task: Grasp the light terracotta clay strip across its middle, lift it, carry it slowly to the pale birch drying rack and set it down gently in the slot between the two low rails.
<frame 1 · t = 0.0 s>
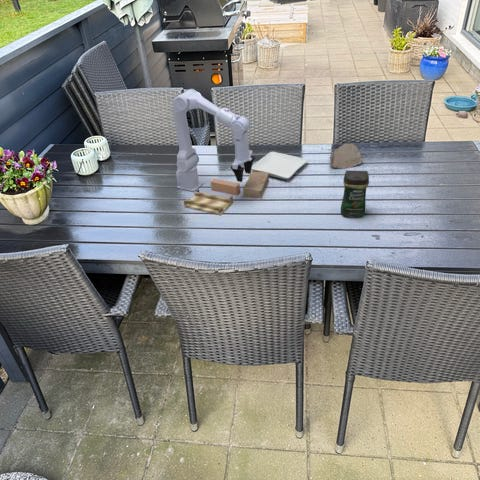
hand: (243, 177, 190), 10 cm above the table, fingers open, 7 cm apart
pumice stone: (345, 165, 214), on the table
rack: (208, 204, 193), on the table
coffee jar: (352, 213, 180), on the table
salad plate: (279, 170, 216), on the table
brick: (256, 189, 202), on the table
clay strip: (225, 191, 202), on the table
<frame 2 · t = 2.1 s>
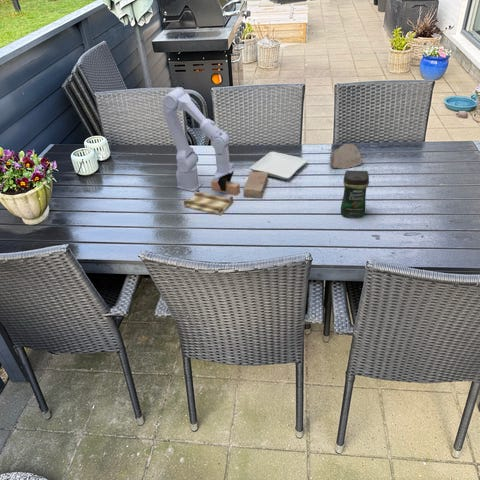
hand: (225, 188, 201), 1 cm above the table, fingers closed on clay strip, 3 cm apart
clay strip: (225, 191, 202), on the table, touching gripper
everything else where it was.
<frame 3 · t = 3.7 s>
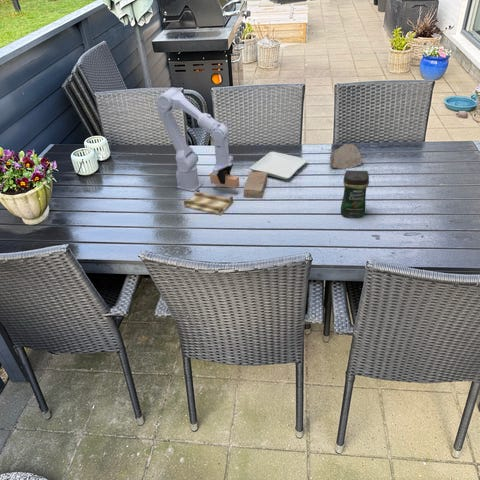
hand: (224, 181, 199), 5 cm above the table, fingers closed on clay strip, 3 cm apart
clay strip: (224, 184, 199), point 3 cm above the table, touching gripper
everything else where it was.
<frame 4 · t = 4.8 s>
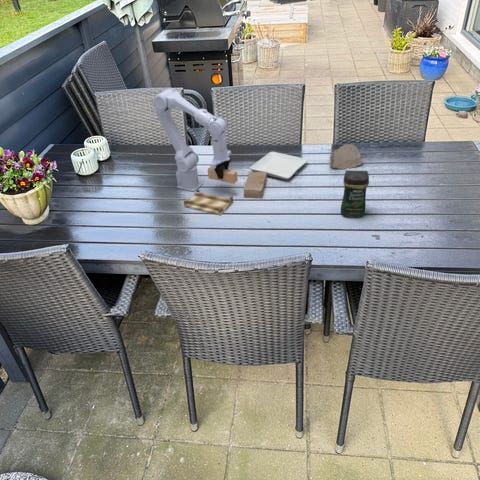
hand: (222, 176, 196), 8 cm above the table, fingers closed on clay strip, 3 cm apart
clay strip: (223, 179, 197), point 6 cm above the table, touching gripper
everything else where it was.
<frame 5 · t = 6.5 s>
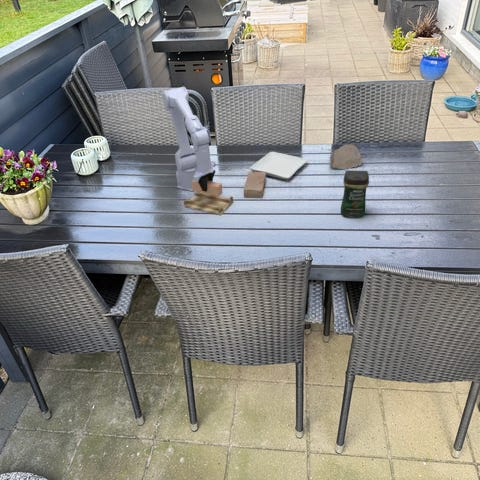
hand: (206, 188, 188), 8 cm above the table, fingers closed on clay strip, 3 cm apart
clay strip: (207, 191, 189), point 6 cm above the table, touching gripper
everything else where it was.
when the fingers open (4 cm above the table, at t = 7.8 s): clay strip drops 1 cm, resting on rack.
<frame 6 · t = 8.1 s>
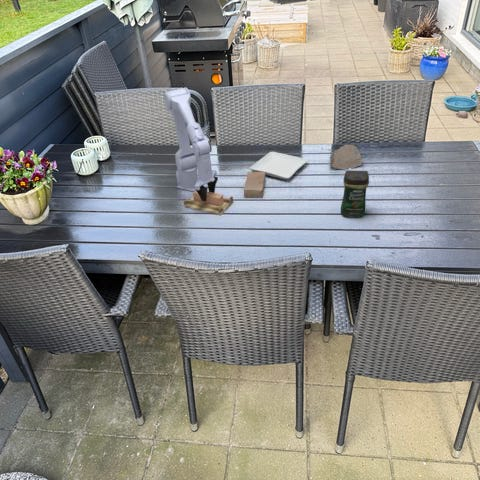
hand: (207, 196, 190), 4 cm above the table, fingers open, 6 cm apart
clay strip: (208, 202, 192), point 1 cm above the table, touching rack
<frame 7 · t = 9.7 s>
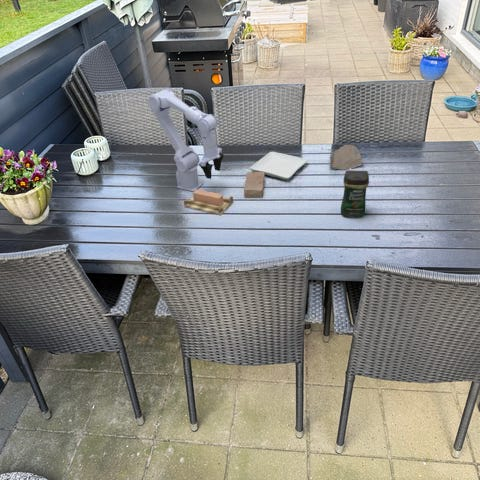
hand: (213, 174, 194), 10 cm above the table, fingers open, 7 cm apart
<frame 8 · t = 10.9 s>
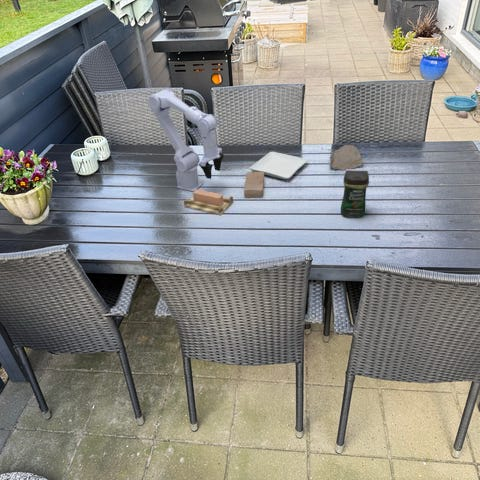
hand: (213, 174, 194), 10 cm above the table, fingers open, 7 cm apart
at the end: clay strip inside the target area on the rack (0.1 cm from its centre), point 1.0 cm above the rack's base; clay strip tilted 0°; the gripper is holding nothing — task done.
